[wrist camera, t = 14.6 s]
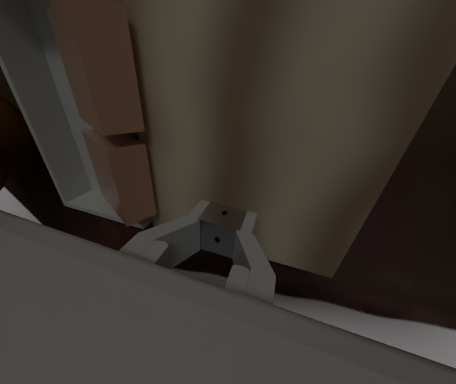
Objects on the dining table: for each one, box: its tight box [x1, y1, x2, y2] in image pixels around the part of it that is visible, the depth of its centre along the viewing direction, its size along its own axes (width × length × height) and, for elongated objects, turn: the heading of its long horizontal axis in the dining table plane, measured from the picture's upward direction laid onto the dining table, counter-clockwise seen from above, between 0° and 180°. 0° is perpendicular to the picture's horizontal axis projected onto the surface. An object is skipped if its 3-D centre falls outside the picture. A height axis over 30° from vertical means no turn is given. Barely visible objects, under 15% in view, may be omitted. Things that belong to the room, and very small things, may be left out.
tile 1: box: [47, 0, 145, 136], centre depth 10 cm, size 5×5×2 cm
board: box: [115, 0, 456, 278], centre depth 11 cm, size 13×14×2 cm
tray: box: [0, 0, 153, 229], centre depth 13 cm, size 8×14×3 cm, turn 175°
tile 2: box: [81, 129, 157, 227], centre depth 13 cm, size 5×5×2 cm
